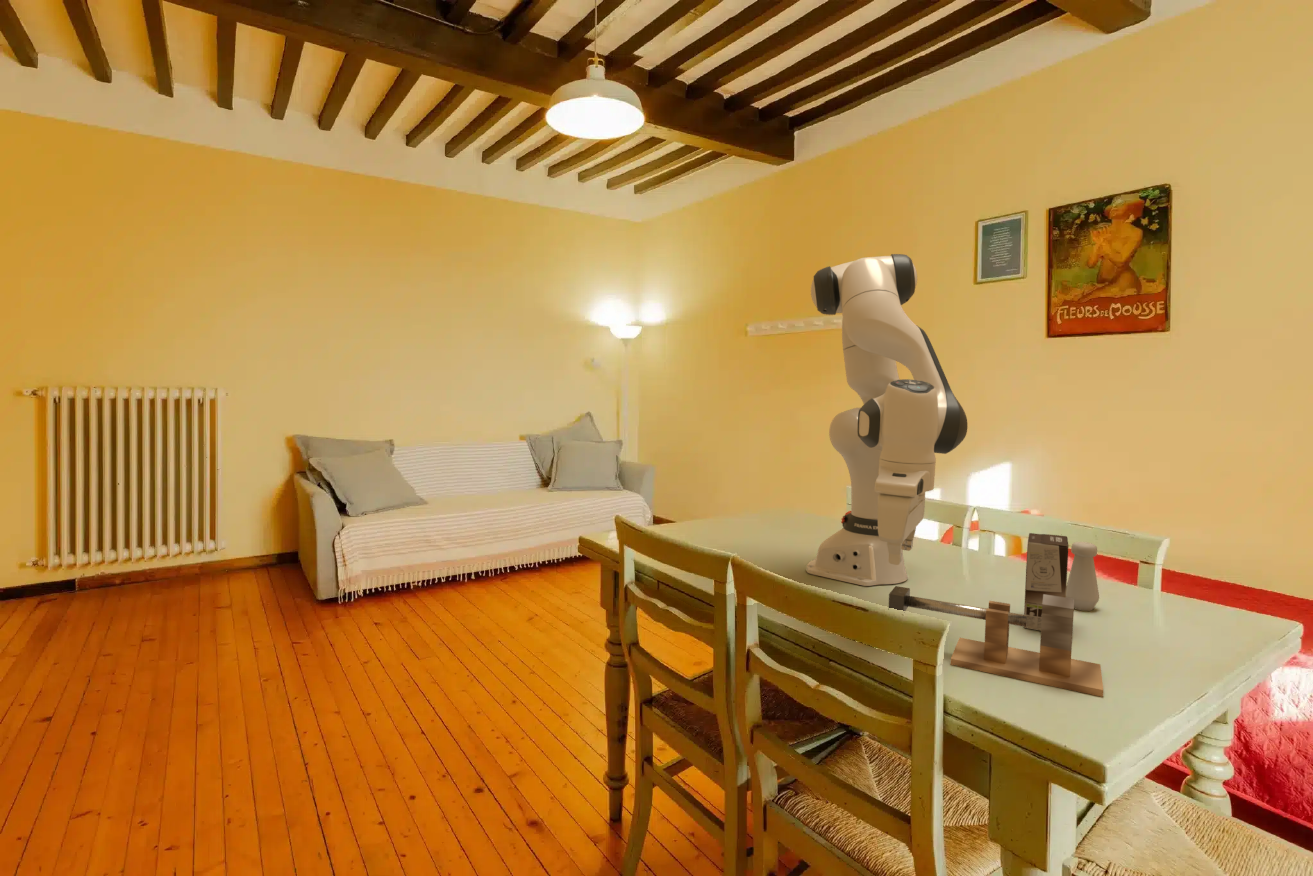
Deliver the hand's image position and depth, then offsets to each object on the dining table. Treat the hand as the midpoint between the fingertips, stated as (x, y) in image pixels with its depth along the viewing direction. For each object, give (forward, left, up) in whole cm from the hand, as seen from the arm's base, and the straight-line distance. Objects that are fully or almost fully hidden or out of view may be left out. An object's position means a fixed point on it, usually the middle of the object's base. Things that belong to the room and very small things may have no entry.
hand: (900, 556), depth 111 cm
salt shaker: (+27, +36, -15) cm, 48 cm away
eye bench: (+19, -1, -15) cm, 24 cm away
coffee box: (+21, +22, -15) cm, 34 cm away
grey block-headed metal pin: (+9, -1, -9) cm, 13 cm away
